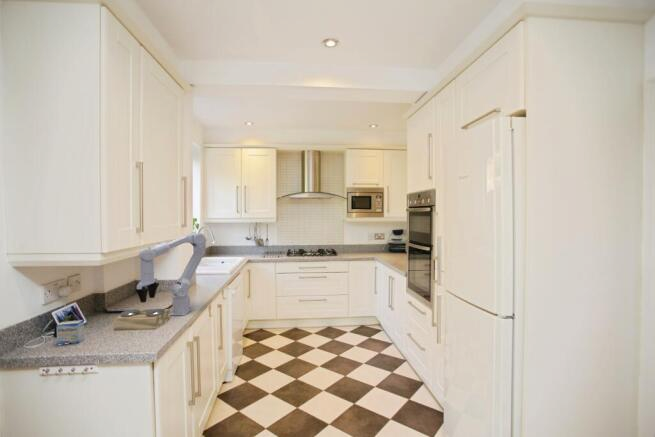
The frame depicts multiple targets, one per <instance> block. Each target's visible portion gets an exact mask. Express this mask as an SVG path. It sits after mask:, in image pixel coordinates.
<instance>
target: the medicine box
mask: <svg viewBox="0 0 655 437" xmlns="http://www.w3.org/2000/svg"><path fill="white" fill-rule="evenodd" d="M84 323H85V320H84V319H78V320H69V321H61V322H60V323H57V325H56V345H57V344H65V343H77V344H80V343H81V342H83V341H82V340H85V324H84ZM79 342H80V343H79Z"/></svg>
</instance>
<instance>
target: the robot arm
mask: <svg viewBox="0 0 655 437" xmlns="http://www.w3.org/2000/svg"><path fill="white" fill-rule="evenodd" d="M206 243H207V238H206V236H205V234H204V233H202V232H194V231H192V232H190V233H187V234H184V235H182V236H180V237H177V238H175V239H174V240H170V241H169V242H165V241H159V242H157V244H155V245H152V246H150V245H149V246H148V248H143V249H141V250H140V251H139V254H138V258H139V259H140V262H139V263H140V264H139V266H140V281H138V284H137V285H136V288H135V289H134V290H135V293H136V294H137V295H138V298H139V301H140V303H146V302H147V298H148V297H147V295H148V296H149V299H155V297H156V293H157V289H158V287H159V285H160V283H159V282H158V278H155V266H154V265H155V264H154V260H155V258H157V257H159V256H161V255H164V254H166V253H169V252H170V250H171V249H172V248H175V247H178V246H180V245H183V244H190V245H192V247H193V249H194V251H193V254H192V256H191V257H190V259H189V261H188V263H187V264H186V266H185V268H184V270H183V271H182V274H181V275H180V277H179V278H178V279H177V280H176V282H175V283H173V284H172V285H171V287H170V292H171V293H172V312H171V313H170V316H185V315H187V314H188V313H189V312H191V311H192V310H193V308H191V298H190V296H189V292H190V286H191V280H192V278H193V276H194V274H195V272H196V271H197V269H198V266H199V265H200V263H201V261H202V259H203V257H204V256H205V253H206V249H207V246H206V245H207V244H206Z"/></svg>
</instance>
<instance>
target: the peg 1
mask: <svg viewBox="0 0 655 437" xmlns="http://www.w3.org/2000/svg"><path fill="white" fill-rule="evenodd" d="M140 310H141V309H137V308H136V309H129V310H124V311H122V312H120V315H119V316H121V317H131V316H135V315H138V314H140Z"/></svg>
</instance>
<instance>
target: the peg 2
mask: <svg viewBox="0 0 655 437" xmlns="http://www.w3.org/2000/svg"><path fill="white" fill-rule="evenodd" d="M164 309H165V308H155V310H154V309H149V310H150V311H148V312H146V316H148V317H153V316H159V315H162V314H164V313H165V310H164Z"/></svg>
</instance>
